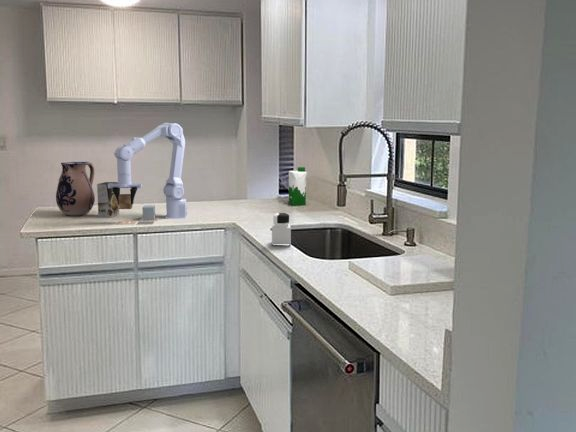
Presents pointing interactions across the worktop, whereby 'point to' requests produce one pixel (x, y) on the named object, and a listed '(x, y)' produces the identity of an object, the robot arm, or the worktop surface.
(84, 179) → the ceramic pitcher
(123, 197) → the walnut block
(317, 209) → the worktop surface
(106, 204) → the coffee box
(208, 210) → the worktop surface
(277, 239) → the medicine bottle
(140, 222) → the rubber pad
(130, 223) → the code tile
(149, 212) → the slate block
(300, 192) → the milk carton
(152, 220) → the code tile
